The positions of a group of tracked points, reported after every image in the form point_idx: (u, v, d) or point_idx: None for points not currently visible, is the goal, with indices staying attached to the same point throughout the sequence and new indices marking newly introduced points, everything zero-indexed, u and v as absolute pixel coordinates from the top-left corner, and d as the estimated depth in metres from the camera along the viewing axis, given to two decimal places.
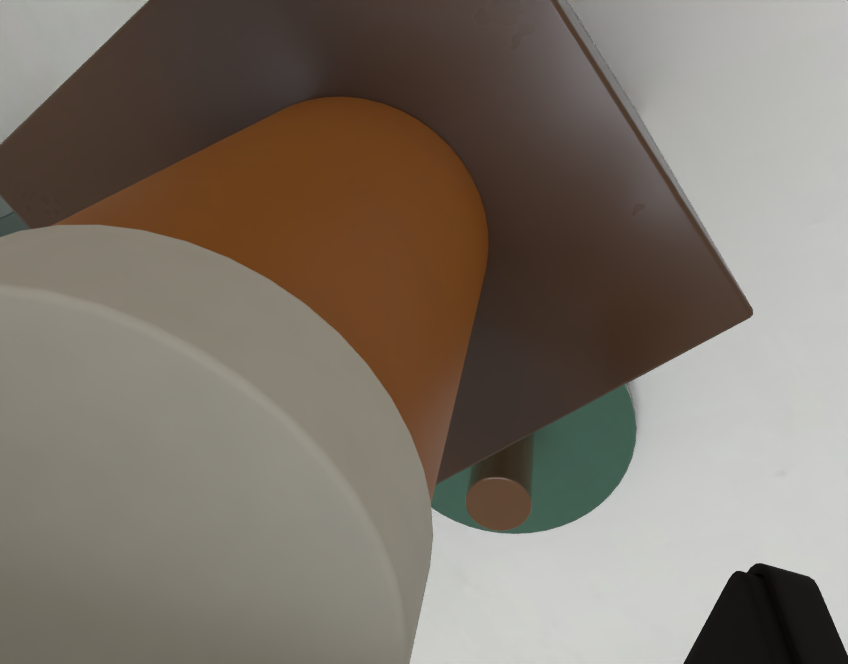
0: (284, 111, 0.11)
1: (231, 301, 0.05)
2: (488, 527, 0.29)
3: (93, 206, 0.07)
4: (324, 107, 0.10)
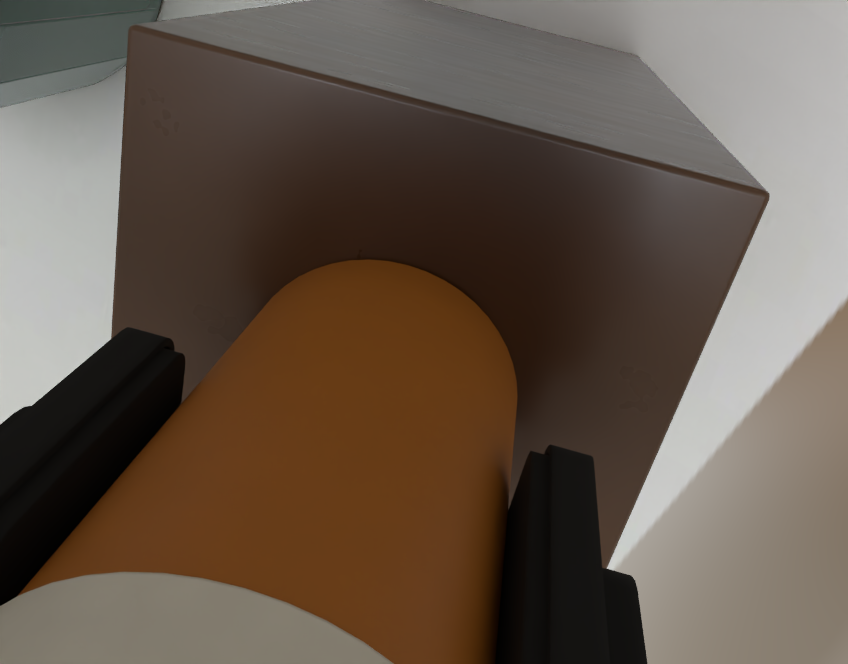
0: (450, 314, 0.11)
1: None
2: None
3: (369, 532, 0.06)
4: (481, 345, 0.11)
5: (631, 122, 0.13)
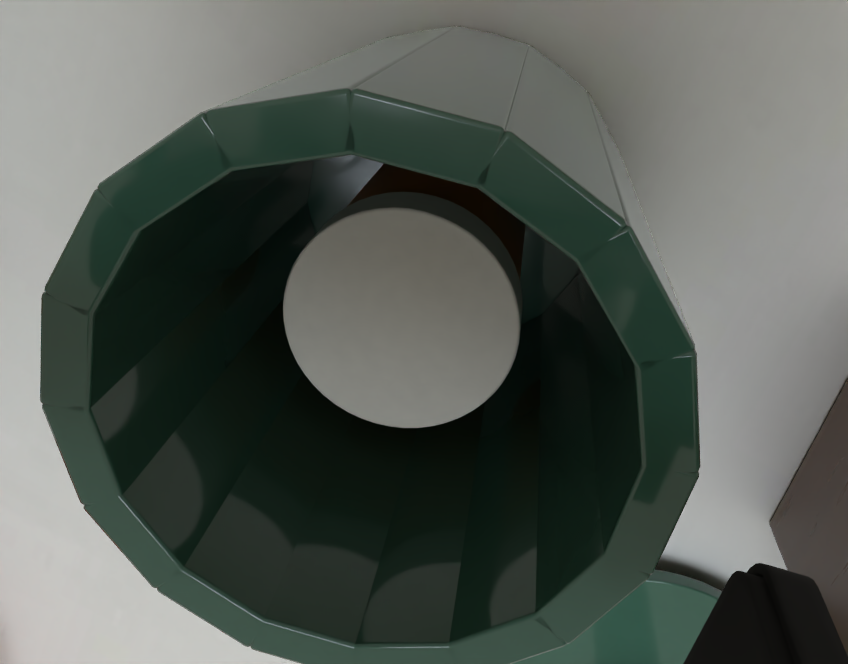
0: None
1: (520, 297, 0.15)
2: None
3: (471, 199, 0.16)
4: None
5: None
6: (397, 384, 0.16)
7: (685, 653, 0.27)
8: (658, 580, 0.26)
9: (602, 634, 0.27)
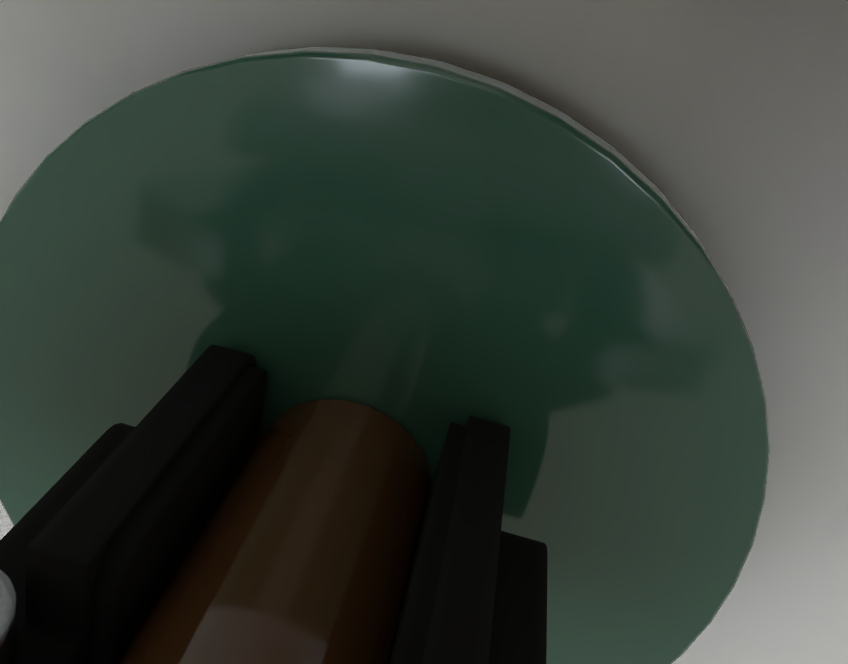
0: None
1: None
2: None
3: None
4: None
5: None
6: None
7: (464, 324, 0.09)
8: (353, 57, 0.08)
9: (231, 274, 0.09)
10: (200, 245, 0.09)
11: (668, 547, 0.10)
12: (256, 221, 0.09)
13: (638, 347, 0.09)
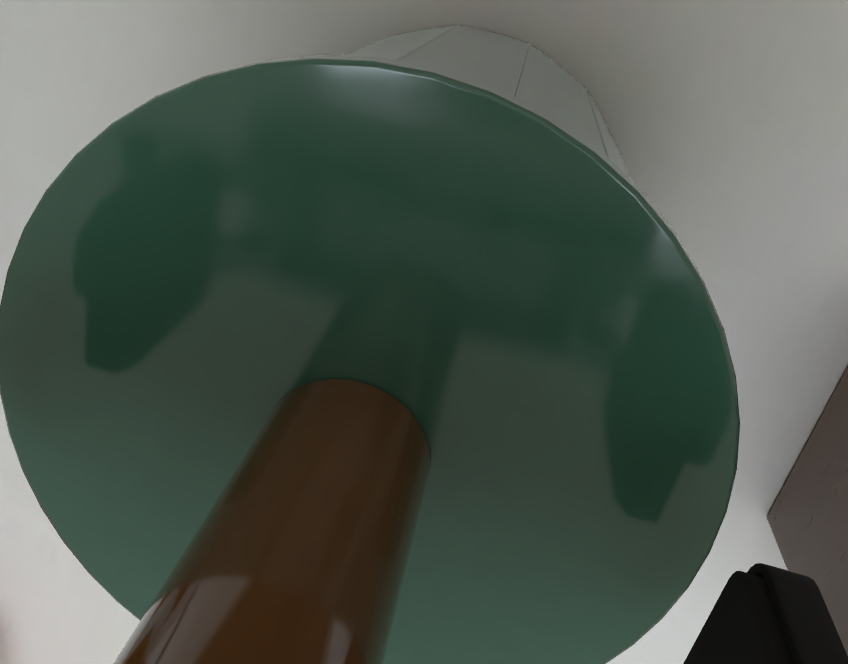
0: None
1: None
2: None
3: None
4: None
5: None
6: None
7: (459, 309, 0.10)
8: (358, 64, 0.09)
9: (245, 263, 0.10)
10: (217, 236, 0.10)
11: (648, 516, 0.11)
12: (268, 214, 0.10)
13: (617, 328, 0.10)
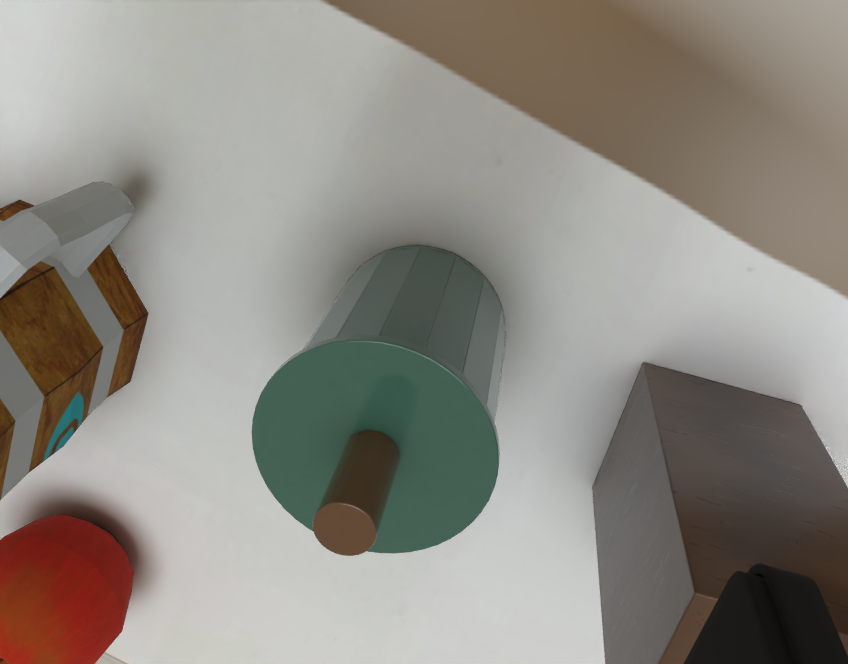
0: None
1: None
2: (318, 537, 0.29)
3: None
4: None
5: None
6: None
7: (408, 409, 0.32)
8: (377, 341, 0.31)
9: (341, 394, 0.32)
10: (332, 386, 0.32)
11: (472, 475, 0.33)
12: (349, 380, 0.32)
13: (457, 416, 0.32)
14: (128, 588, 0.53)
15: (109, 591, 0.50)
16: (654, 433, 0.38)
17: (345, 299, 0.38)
